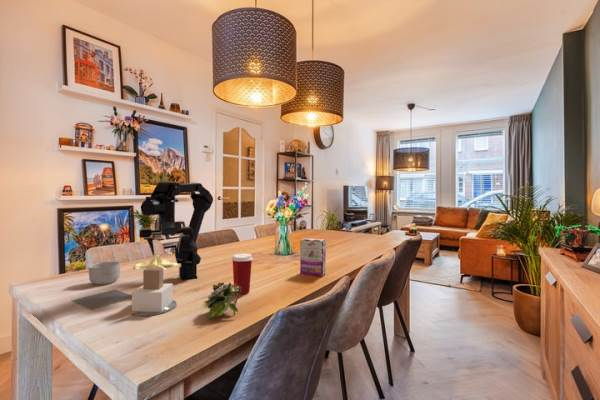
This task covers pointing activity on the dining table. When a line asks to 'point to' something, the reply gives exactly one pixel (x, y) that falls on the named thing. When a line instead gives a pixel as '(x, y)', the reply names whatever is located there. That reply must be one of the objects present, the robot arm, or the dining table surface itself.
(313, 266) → the candy bar box
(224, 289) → the green leafy cluster
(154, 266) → the cloth
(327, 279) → the dining table surface
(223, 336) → the dining table surface
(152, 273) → the white brown stepped block
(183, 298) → the dining table surface
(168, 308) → the grey disc
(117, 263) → the teacup
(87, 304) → the mat
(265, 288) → the dining table surface
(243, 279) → the paper cup
